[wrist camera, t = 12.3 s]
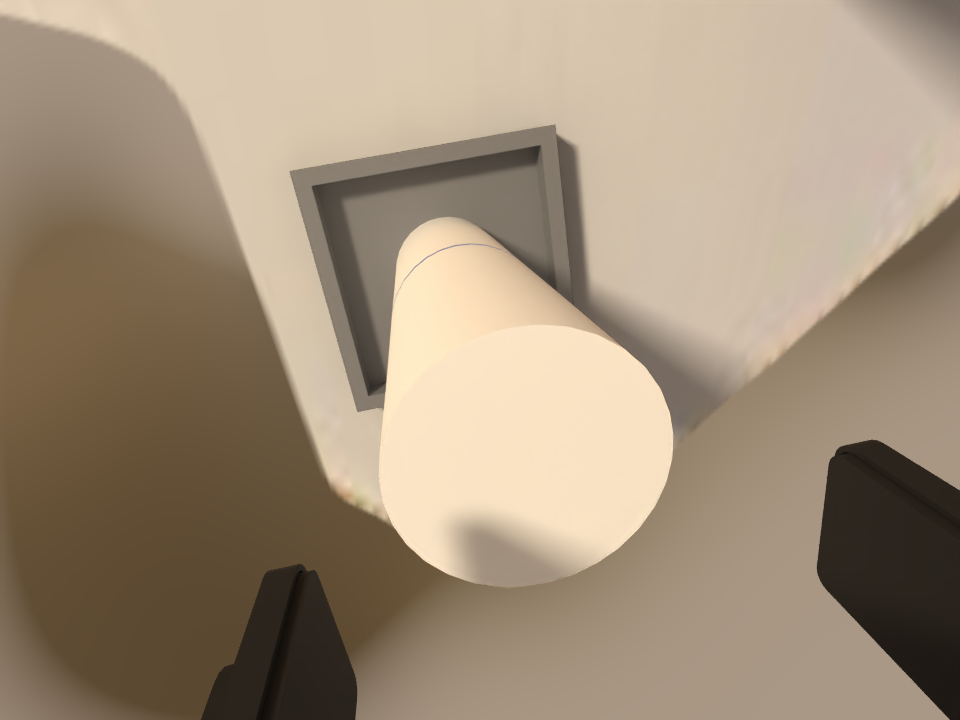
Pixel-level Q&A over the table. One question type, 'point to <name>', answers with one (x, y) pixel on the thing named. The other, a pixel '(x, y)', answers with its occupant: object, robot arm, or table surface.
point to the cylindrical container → (510, 418)
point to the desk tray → (412, 202)
